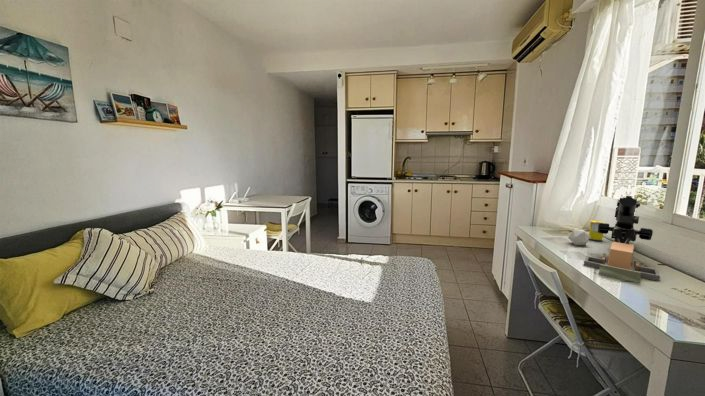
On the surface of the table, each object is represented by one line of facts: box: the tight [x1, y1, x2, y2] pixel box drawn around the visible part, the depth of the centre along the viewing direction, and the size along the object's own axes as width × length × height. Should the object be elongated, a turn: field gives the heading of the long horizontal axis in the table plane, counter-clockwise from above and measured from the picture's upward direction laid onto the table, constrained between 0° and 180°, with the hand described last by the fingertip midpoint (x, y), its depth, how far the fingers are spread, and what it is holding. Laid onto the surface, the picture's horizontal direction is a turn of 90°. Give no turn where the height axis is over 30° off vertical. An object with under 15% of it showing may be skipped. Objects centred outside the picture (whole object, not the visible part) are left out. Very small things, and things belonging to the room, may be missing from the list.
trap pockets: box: [583, 255, 661, 282], centre depth 122 cm, size 9×23×2 cm, turn 46°
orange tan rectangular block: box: [607, 241, 635, 270], centre depth 125 cm, size 15×7×9 cm, turn 134°
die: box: [567, 229, 590, 246], centre depth 156 cm, size 8×9×10 cm
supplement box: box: [588, 219, 605, 243], centre depth 164 cm, size 6×6×11 cm
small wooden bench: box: [598, 252, 642, 284], centre depth 123 cm, size 27×12×4 cm, turn 136°
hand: (621, 245), depth 133 cm, fingers closed
